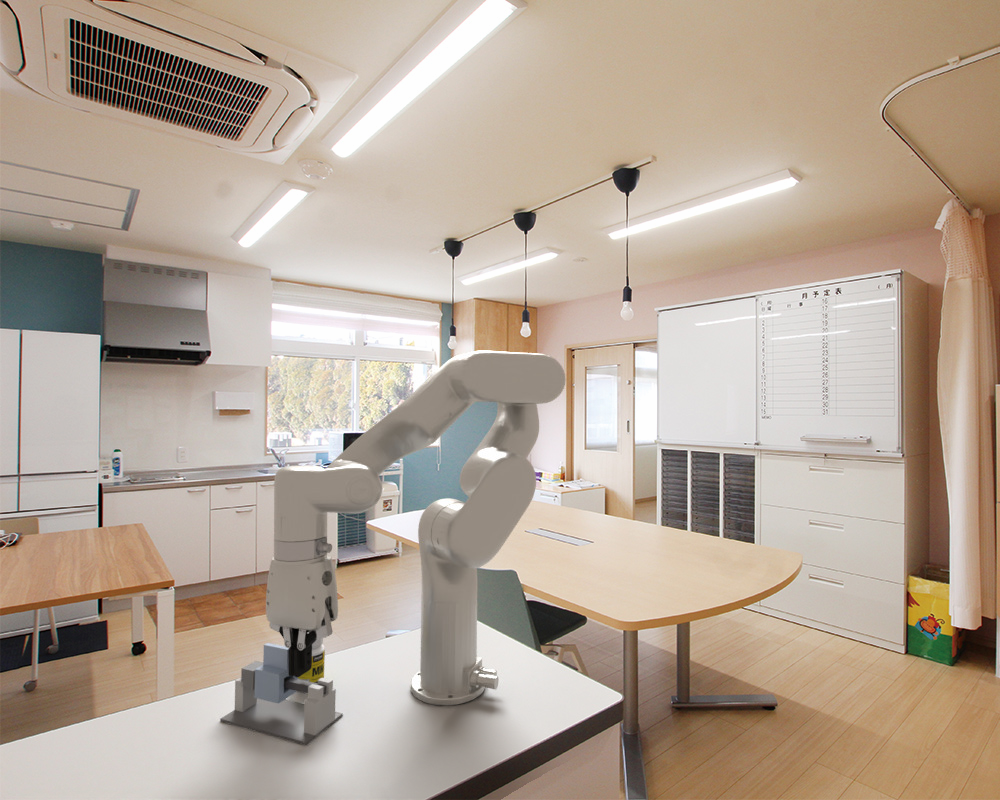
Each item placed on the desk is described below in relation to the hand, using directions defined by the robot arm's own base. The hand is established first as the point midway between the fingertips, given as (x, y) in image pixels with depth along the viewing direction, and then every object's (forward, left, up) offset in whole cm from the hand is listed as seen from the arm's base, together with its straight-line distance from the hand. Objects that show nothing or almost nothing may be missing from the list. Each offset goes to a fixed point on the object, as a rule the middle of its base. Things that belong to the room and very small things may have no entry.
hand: (300, 672), depth 80 cm
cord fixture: (+3, 0, -8) cm, 8 cm away
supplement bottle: (+6, -10, -8) cm, 14 cm away
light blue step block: (+5, 0, -4) cm, 6 cm away
